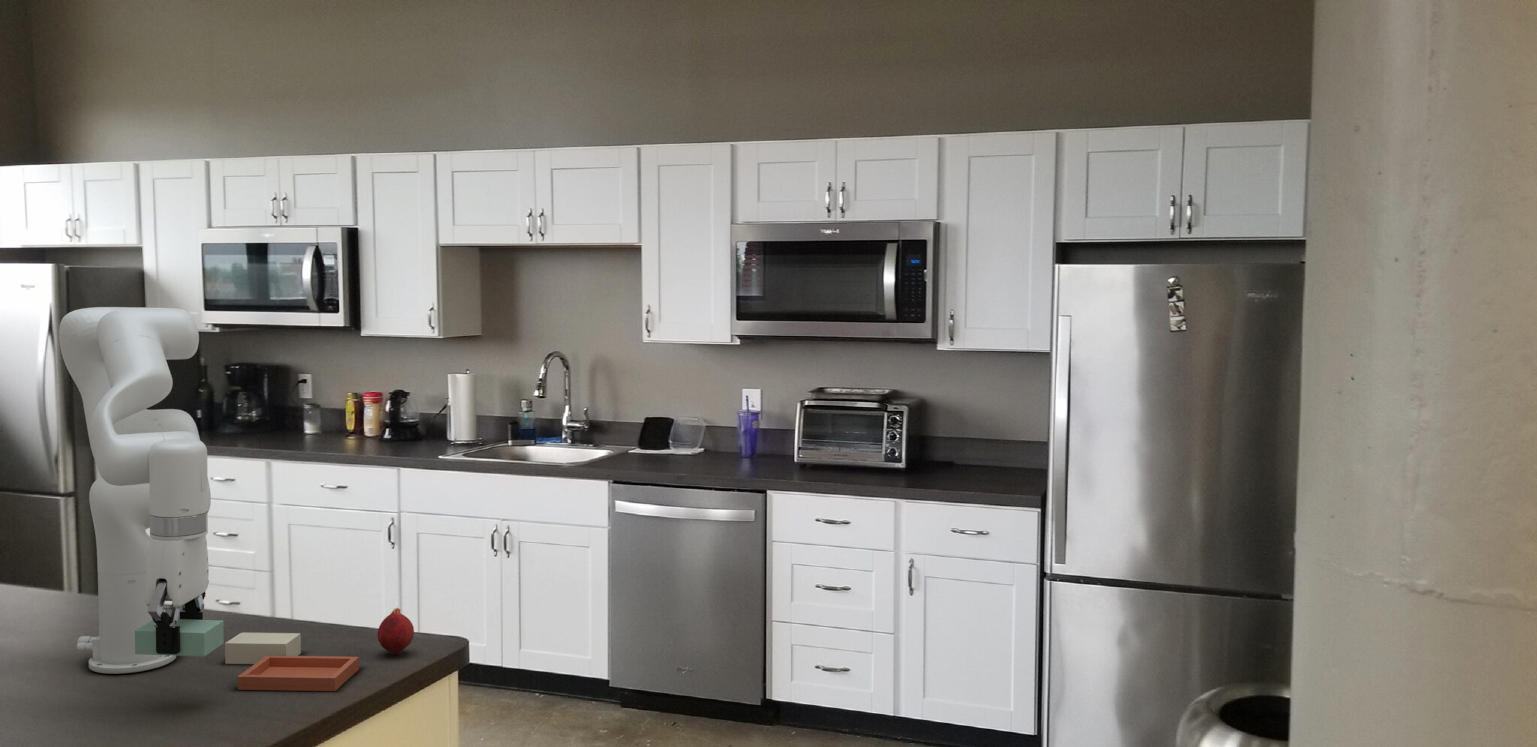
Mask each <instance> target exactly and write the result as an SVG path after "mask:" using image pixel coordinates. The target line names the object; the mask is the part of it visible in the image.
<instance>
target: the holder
mask: <svg viewBox="0 0 1537 747" xmlns="http://www.w3.org/2000/svg"><path fill="white" fill-rule="evenodd" d="M359 670H360V657H359V656H338V655H337V656H331V655H298V656H265V657H264V658H262V659H261V660H260V661H258V662H257V663H256V664H252V665H251V666H250V667H248V668H247V669H246V670H244V671H243V672H242V673H240V674H239V675H238V676H237V677H236V678H237V681H236V682H237V686H236V687H237V690H238V691H289V692H290V691H293V692H294V691H299V692H302V691H303V692H336V691H337V690H339V688H340V687H342V685H344V684H345V683H346V682H347V681H348V680H349V679H350V678H351V677H352V676H353V675H355V674H356V673H357V672H358V671H359Z"/></svg>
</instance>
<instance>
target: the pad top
mask: <svg viewBox="0 0 1537 747" xmlns="http://www.w3.org/2000/svg"><path fill="white" fill-rule="evenodd" d="M301 635H302V634H301V633H300V632H240V633H238V634H236V635H235V636H234V637H232V638H231V639H229V640H228V641H225V642H224V664H225V665H254V664H256V663H257V662H258V661H260V660H261V659H262V658H264V657H265V656H301V654H302V649H301V648H302V637H301Z"/></svg>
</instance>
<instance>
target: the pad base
mask: <svg viewBox="0 0 1537 747" xmlns="http://www.w3.org/2000/svg"><path fill="white" fill-rule="evenodd" d="M224 623H225V622H224V620H221V619H219V620H218V619H215V620H214V619H203V620H193V619H180V618H178V622H177V626H180V652H179V653H178V654H158V653H157V652H156V628H155V627H154V621H153V620H152V621H151V622H149V623H147V624H146V625H144V626H142V627H140V628H139V629H137V630H135V654H146V655H175V656H176V657H177V656H178V657H179V656H180V657H203V658H204V657H206V656H208V655H210V653H212V652H213V651H215V650H217V649H218V648H219V647H221V646H222V645H224V644H225V642H224V641H225V638H224V636H225V635H224V634H225V633H224V630H225V628H224V625H225V624H224Z"/></svg>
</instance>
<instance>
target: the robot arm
mask: <svg viewBox="0 0 1537 747" xmlns="http://www.w3.org/2000/svg"><path fill="white" fill-rule="evenodd" d="M197 325H198V324H197V323H196V320H195V319H194V317H193V316H192V315H191V313H189V312H188V311H187V310H185V309H183V308H175V307H173V308H172V307H154V306H153V307H148V306H147V307H145V306H144V307H141V306H138V307H136V306H135V307H134V306H132V307H131V306H130V307H129V306H128V307H127V306H95V307H84V308H79V309H74V310H73V311H70V312H68V313H67V314H65V315H64V316H63V317H62V319H61V320H60V323H59V328H58V339H59V348H60V352H61V355H62V356H61V357H62V359H63V362H64V365H65V367H66V369H67V371H68V373H69V375H70V376H71V378H72V380H73V382H74V384H75V385H76V387H77V389H78V391H79V393H80V396H81V400H82V405H83V410H84V416H85V422H86V423H85V424H86V430H87V435H88V440H89V446H90V449H91V453H92V456H93V458H94V460H95V465H96V467H97V470H98V474H99V475H100V477H98V478H97V479H96V480H95V481H94V482H92V485H91V487H90V489H89V494H88V495H89V496H88V497H89V498H88V501H89V507H90V513H91V518H92V523H93V527H94V534H95V543H96V557H97V558H96V561H97V565H96V566H97V598H98V604H97V605H98V636H92V635H90V636H89V635H81V636H79V637H78V639H77V643H76V651H77V652H91V653H92V656H91V657H90V658H89V660H88V669H89V670H90V671H92V672H96V673H99V674H106V675H120V674H121V675H122V674H132V673H140V672H145V671H150V670H155V669H158V668H161V667H165V666H166V665H168V664H170V663H172V662H173V661H174V660H176V658H177V656H175V655H146V654H135V630H137V629H139V628H140V627H142V626H144V625H146V624H147V623H149V622H151V621H152V620H153V621H154V627H155V628H156V652H157V653H158V654H178V653H179V652H180V626H177V622H178V619H193V620H204V610H205V602H204V600H205V598H206V591H207V589H208V587H209V583H210V580H209V570H210V569H209V552H208V541H207V535H208V533H209V512H210V509H211V504H212V494H211V488H210V482H209V477H208V448H207V446H206V444H205V443H204V442H203V441H201V439H200V435H199V434H200V433H199V430H198V426H197V424H196V421H195V420H194V419H193V417H192V416H191V414H190V413H188V412H187V411H184V410H182V409H177V408H176V409H175V408H164V409H162V408H161V409H148V408H151V407H153V406H155V405H157V404H159V403H160V402H162V401H163V400H164V399H166V397H167V396H169V394H170V393H171V391H172V388H173V385H174V384H173V383H174V382H173V377H172V376H173V375H172V374H171V373H172V372H171V370H170V368H169V365H168V362H167V360H168V361H169V360H170V361H171V360H189V359H191V358H192V357H193V356H195V354H196V353H197V351H198V349H199V343H200V333H199V328H198V326H197ZM148 529H149V534H148V533H147V531H146V530H148ZM166 602H171V604H166ZM181 609H182V610H181ZM166 610H168V611H169V610H171V611H170V612H171V614H169V613H168V612H166ZM180 610H181V611H180Z"/></svg>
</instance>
